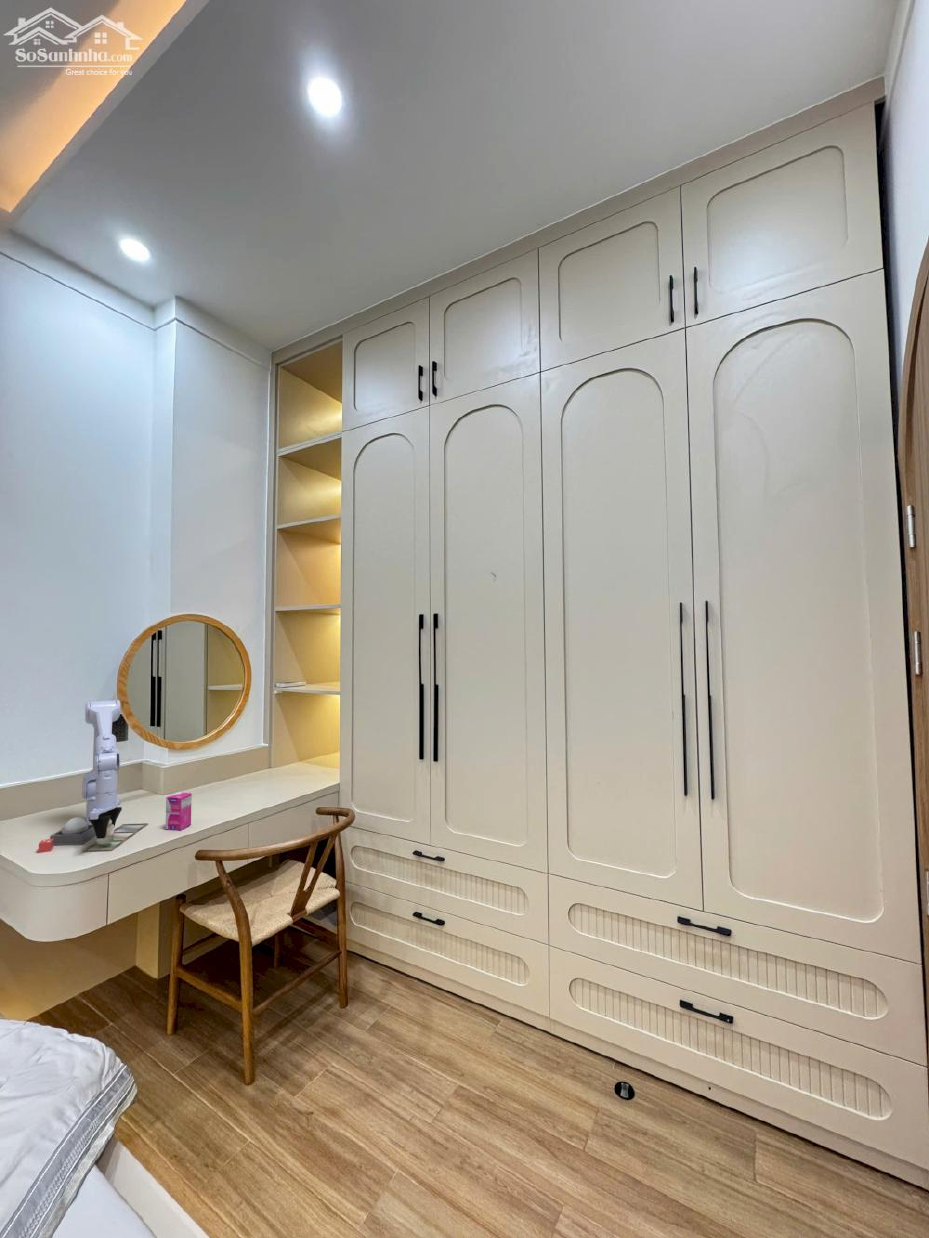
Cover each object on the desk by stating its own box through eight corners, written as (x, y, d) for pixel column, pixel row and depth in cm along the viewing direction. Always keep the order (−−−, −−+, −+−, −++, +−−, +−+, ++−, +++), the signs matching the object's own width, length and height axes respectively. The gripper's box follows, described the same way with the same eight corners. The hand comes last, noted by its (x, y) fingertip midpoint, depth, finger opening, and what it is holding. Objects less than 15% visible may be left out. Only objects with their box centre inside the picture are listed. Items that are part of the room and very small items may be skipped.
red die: (41, 849, 162) (41, 839, 162) (53, 848, 163) (53, 838, 163) (38, 853, 159) (38, 843, 159) (50, 851, 160) (51, 841, 161)
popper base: (67, 833, 175) (67, 824, 175) (102, 832, 176) (102, 823, 177) (45, 846, 164) (45, 836, 164) (82, 845, 166) (83, 835, 166)
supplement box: (164, 830, 178) (165, 796, 179) (176, 824, 184) (177, 791, 184) (180, 831, 177) (180, 797, 178) (191, 825, 183) (192, 792, 183)
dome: (70, 831, 173) (70, 814, 174) (92, 830, 174) (93, 813, 174) (56, 839, 167) (56, 821, 167) (80, 839, 167) (80, 821, 168)
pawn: (108, 837, 167) (108, 814, 168) (116, 839, 166) (117, 816, 166) (93, 842, 163) (94, 819, 164) (102, 844, 162) (102, 821, 162)
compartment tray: (122, 825, 183) (122, 824, 183) (148, 824, 184) (148, 823, 184) (82, 852, 160) (82, 851, 160) (111, 851, 161) (111, 849, 161)
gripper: (104, 785, 172) (103, 827, 171) (79, 798, 157) (77, 844, 157) (128, 784, 173) (126, 826, 172) (104, 797, 158) (103, 843, 158)
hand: (105, 835), depth 165 cm, fingers closed on pawn, 4 cm apart
